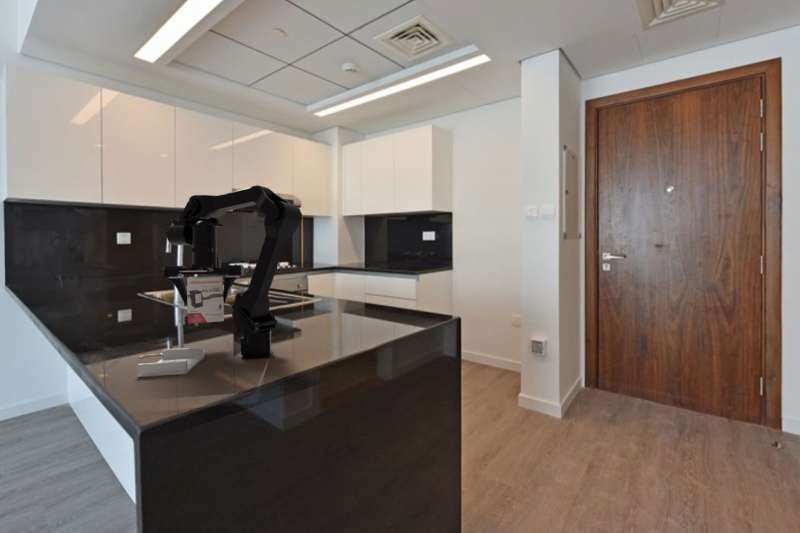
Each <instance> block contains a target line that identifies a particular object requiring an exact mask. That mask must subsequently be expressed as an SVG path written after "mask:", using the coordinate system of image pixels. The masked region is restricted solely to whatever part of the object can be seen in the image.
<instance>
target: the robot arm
mask: <svg viewBox="0 0 800 533" xmlns="http://www.w3.org/2000/svg"><path fill="white" fill-rule="evenodd" d="M254 206H256V207H257V209H258V210H259V211H260V212H261V213H262V214H264V220H263V226H264V231H265V237H264V240H263V243H262V245H261V249H260V252H259V255H258V258H257V261H256V264H255V267H254V269H253V273H252V275H251V278H250V282H249V285H248V286H247V287H248V288H247V289H246V290H245V291H243V292H237V293H236V294H235V297H234V302H233V304H232V306H231V308H230V309H232V312H231V316H232V318H233V321H234V325H235V328H236V331H237V334H241V335H242V337H241V338H240V355H241V359H242V360H247V359H249V360H250V359H264V358H270V357H272V353H273V349H272V330H275V329H276V328H277V325H278V320H277V319H276V317H275V316H274V315H273V314H272V312H270V307H271V301H270V296H269V293H270V289H271V286H272V284H273V280H274V278H275V274H276V272H277V270H278V266H279V263H280V261H281V258H282V254H283V251H284V248H285V246H286V242H287V241H288V240H289V239H290V238H291V236H293V234H294V233H296V231H297V229H298V227H299V225H300V224H301V222H302V219H303V213H302V212H301V209H300V207H298V205H296V204H293V203H290V202H288V201H287V200H286V199H285V198H283V197H281V196H280V195H278V194H276V192H274V191H273V190H272V189H271V188H269V187H266V186H263V185H259V184H255V185H252V186H250V187H246V188H242V189H239V190H234V191H231V192H226V193H223V194H218V195H210V194H193V195H191V196H190V197H189V199H188V201H187V203H186V205H185V206H184V208H183V210H182V212H181V213H180V215H179V217H178V219H174V220H172V224H171V225H169V226H168V228H167V230H166V233H165V236H166V239H167V241H168V242H169V243H170V245H171V244H172V245H173V246H191V253H192V263H191V267H186V266H185V265H165V266H164V267H163V268H162V270H161V272H162V273H161V274H162V275H161V276H162V278H167V281H171V282H172V284H173V285H174V286H175V287H176V290H177V291H178V294H179V296H180V298H181V300H182V301H183V304H184V305H187V278H188V277H184V276H185V275H187V276H188V275H226V276H224V277H223V300H224V304H226V303H227V301H228V299H229V295H230V293H231V289H232V287H233V284H234V283H235V281H236V280H238V279H240V278H241V276H245V275H246V274H245V267H244V266H243V265H242V264H227V265H226V264H225V267H224V266H223V267H222V259H221V257H220V256H219V255H218V248H217V246H218V245H217V244H218V242H217V239H218V238H217V228H222V227H224V224H223V223H222V222H221V221H220V220H219V218H221V217H222V216H224V215H225V214H226V213H227V212H229V211H235V210H239V209H245V208H247V207H254ZM199 269H201V270H199Z"/></svg>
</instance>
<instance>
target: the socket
mask: <svg viewBox="0 0 800 533" xmlns="http://www.w3.org/2000/svg"><path fill="white" fill-rule="evenodd" d="M161 353H162V355H161V358H160V359H159V360H158V361H157V362H145V363H143V362H142V363H138V364H137V377H138V378H143V377H147V378H148V377H160V376H175V375H187V374H188V373H189V372H190V371H191V370H192V369H194V367H196V366H197V365H198V364H199V363H200V362H201V361H202V360H204V358H205V355H206V354H205V346H204V347H201V346H200V347H181V348H167V349H166V348H165V349H162V350H161Z"/></svg>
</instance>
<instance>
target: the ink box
mask: <svg viewBox="0 0 800 533" xmlns="http://www.w3.org/2000/svg"><path fill="white" fill-rule="evenodd" d="M186 287H187V304H186V305H187V323H188V325H190V324H191V325H192V324H201V323H202V324H203V323H215V322H224V321H225V305H224V304H225V303H224V300H223V292H224V277H223V276H222V275H215V276H214V275H213V276H212V275H211V276H207V275H205V276H189V277H187V281H186Z"/></svg>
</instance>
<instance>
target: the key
mask: <svg viewBox="0 0 800 533" xmlns="http://www.w3.org/2000/svg"><path fill="white" fill-rule="evenodd" d="M154 356H156V357H157V356H158V357H159V356H161V357H162V352H158V353H150V354H143V355H142V354H141V355H140V354H139V359H140V360H141V359H144V358H145V357H146V358H148V357H154Z"/></svg>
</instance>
